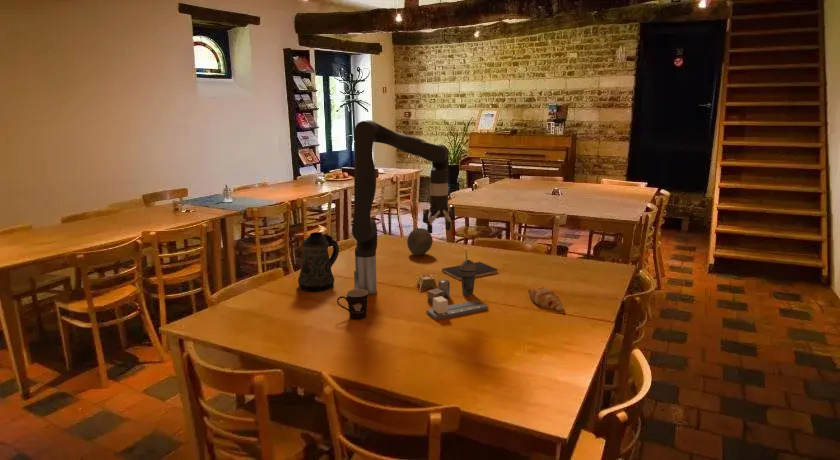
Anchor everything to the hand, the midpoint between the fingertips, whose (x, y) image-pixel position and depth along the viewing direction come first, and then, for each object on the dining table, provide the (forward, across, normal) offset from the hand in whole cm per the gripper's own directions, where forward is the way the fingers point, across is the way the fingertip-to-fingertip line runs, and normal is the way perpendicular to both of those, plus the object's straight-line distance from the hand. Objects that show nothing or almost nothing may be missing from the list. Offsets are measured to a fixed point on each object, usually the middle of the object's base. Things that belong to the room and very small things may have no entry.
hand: (438, 231), depth 222 cm
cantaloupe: (+30, -25, -61) cm, 72 cm away
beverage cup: (+30, -13, +2) cm, 33 cm away
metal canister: (+30, -2, 0) cm, 30 cm away
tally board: (+30, +1, +17) cm, 34 cm away
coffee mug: (+30, +40, 0) cm, 49 cm away
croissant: (+30, -35, +28) cm, 54 cm away
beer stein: (+29, +40, -42) cm, 65 cm away
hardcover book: (+30, -32, -22) cm, 49 cm away
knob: (+28, +9, +16) cm, 34 cm away
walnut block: (+30, +4, +4) cm, 30 cm away
